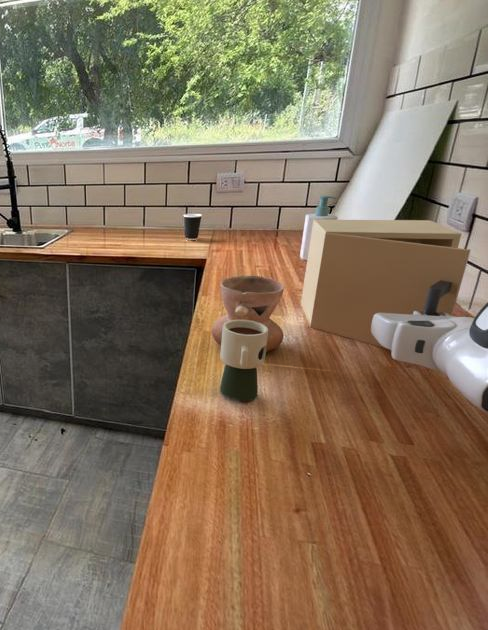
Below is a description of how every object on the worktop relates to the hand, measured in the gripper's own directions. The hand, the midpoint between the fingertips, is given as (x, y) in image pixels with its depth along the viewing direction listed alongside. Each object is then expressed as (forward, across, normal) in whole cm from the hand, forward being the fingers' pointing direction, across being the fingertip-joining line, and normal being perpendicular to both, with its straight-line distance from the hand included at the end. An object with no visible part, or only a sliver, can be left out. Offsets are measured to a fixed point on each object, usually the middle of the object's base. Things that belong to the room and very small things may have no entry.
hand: (428, 315), depth 81 cm
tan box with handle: (+8, +7, +11) cm, 15 cm away
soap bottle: (+86, +5, +10) cm, 87 cm away
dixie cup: (+113, +50, +10) cm, 124 cm away
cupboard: (+27, +3, +11) cm, 29 cm away
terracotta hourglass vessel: (+4, +30, +11) cm, 32 cm away
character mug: (-18, +32, +11) cm, 38 cm away
